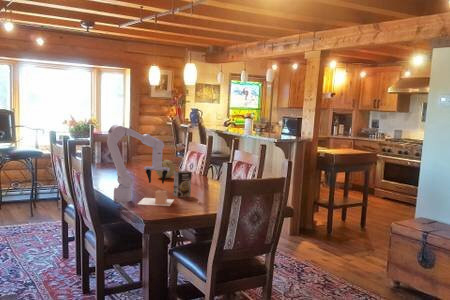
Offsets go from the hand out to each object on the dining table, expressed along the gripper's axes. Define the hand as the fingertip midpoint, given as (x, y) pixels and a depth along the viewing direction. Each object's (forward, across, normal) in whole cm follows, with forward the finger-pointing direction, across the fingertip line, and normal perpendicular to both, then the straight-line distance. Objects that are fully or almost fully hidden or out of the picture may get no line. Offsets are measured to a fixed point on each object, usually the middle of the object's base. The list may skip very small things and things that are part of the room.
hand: (156, 182), depth 251 cm
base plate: (+10, -2, +9) cm, 14 cm away
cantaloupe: (+11, +7, -77) cm, 78 cm away
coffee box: (+11, -14, -12) cm, 21 cm away
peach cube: (+9, -5, +11) cm, 15 cm away
